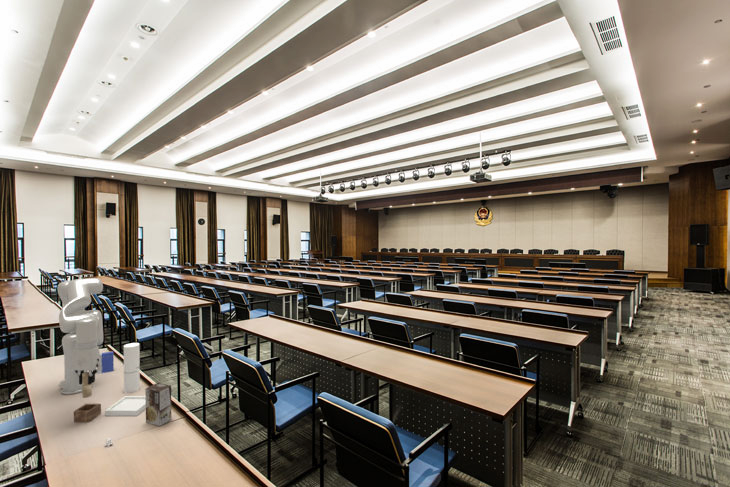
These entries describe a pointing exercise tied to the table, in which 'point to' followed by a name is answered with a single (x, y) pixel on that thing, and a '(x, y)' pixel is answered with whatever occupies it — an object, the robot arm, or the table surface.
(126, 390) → the cylindrical container
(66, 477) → the table surface
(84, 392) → the dowel
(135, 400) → the tray
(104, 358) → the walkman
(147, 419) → the coffee box
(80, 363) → the robot arm
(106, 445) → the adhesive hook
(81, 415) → the square wooden box
